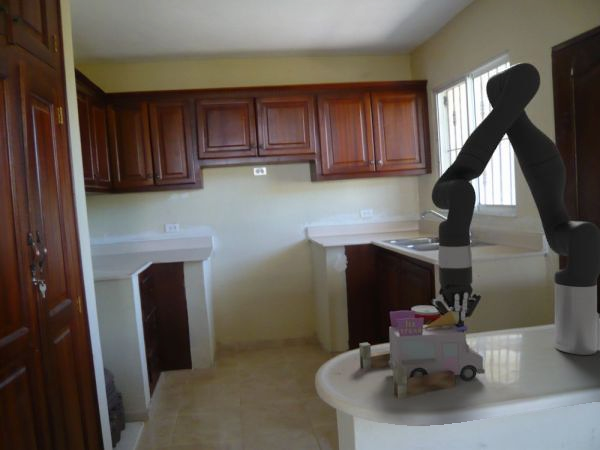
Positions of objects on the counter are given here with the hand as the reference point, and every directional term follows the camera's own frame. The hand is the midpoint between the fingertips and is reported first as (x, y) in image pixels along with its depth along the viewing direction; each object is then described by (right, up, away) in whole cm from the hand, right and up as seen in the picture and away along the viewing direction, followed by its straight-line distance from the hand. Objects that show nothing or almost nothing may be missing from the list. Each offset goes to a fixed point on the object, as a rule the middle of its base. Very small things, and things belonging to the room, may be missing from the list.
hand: (457, 335), depth 105 cm
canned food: (-4, -7, +13) cm, 15 cm away
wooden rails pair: (-14, -8, -4) cm, 17 cm away
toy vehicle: (-7, -8, -5) cm, 12 cm away
